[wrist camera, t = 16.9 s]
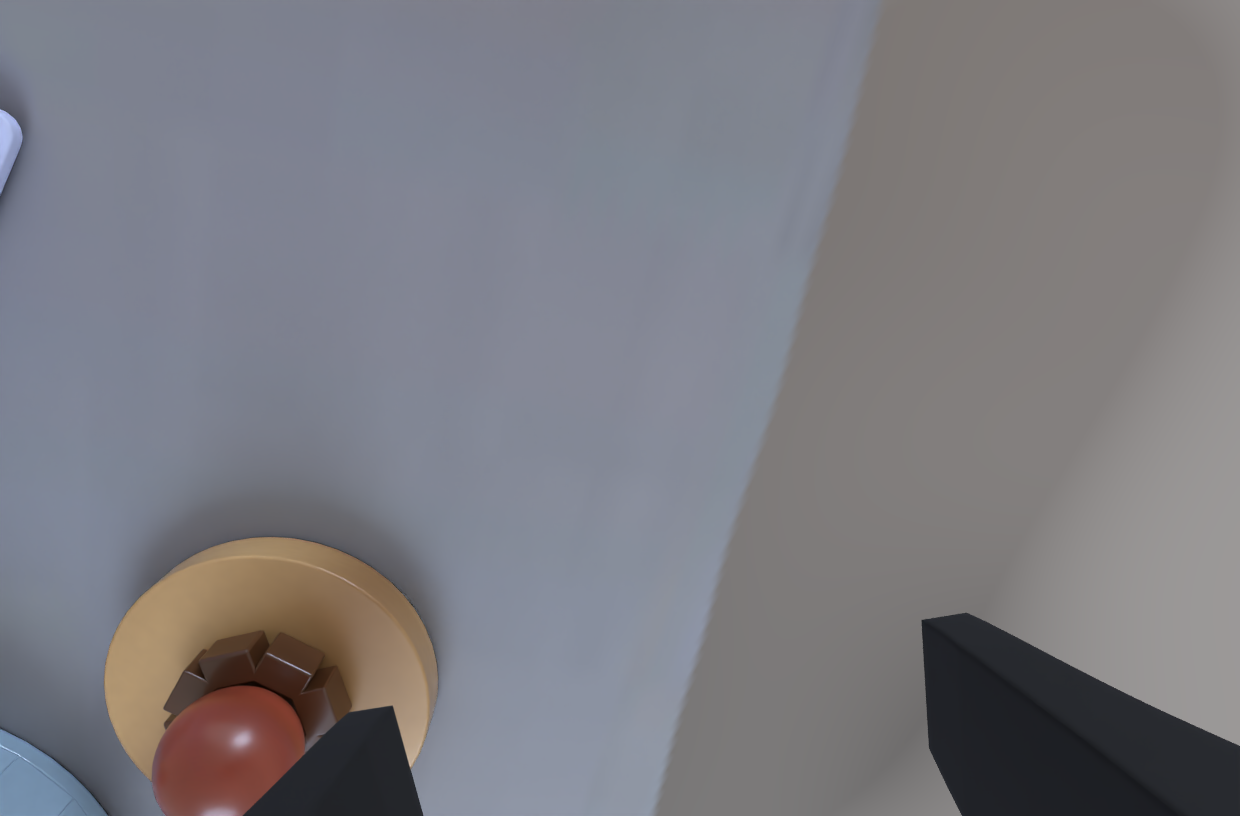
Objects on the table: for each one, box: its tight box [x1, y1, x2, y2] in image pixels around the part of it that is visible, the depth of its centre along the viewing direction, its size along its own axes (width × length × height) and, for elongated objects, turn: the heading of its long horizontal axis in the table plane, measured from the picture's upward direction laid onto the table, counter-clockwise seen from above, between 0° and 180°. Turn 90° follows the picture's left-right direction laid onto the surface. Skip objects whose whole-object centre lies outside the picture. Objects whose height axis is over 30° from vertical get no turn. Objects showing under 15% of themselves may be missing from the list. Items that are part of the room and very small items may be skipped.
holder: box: [104, 537, 438, 782], centre depth 20 cm, size 8×8×2 cm
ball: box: [152, 686, 305, 816], centre depth 18 cm, size 3×3×3 cm
